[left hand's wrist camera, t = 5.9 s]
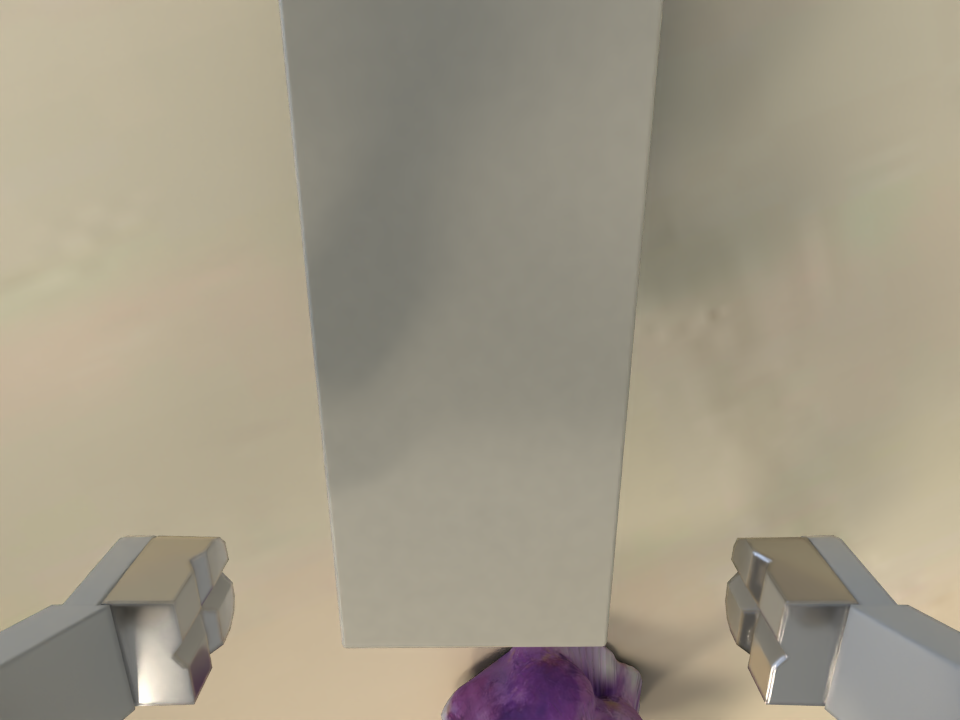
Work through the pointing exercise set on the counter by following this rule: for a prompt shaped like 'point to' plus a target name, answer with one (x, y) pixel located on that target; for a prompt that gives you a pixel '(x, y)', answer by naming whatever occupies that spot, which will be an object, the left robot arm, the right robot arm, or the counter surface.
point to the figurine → (550, 687)
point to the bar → (472, 303)
